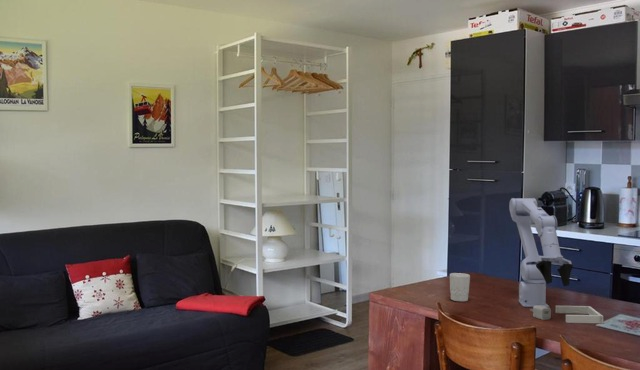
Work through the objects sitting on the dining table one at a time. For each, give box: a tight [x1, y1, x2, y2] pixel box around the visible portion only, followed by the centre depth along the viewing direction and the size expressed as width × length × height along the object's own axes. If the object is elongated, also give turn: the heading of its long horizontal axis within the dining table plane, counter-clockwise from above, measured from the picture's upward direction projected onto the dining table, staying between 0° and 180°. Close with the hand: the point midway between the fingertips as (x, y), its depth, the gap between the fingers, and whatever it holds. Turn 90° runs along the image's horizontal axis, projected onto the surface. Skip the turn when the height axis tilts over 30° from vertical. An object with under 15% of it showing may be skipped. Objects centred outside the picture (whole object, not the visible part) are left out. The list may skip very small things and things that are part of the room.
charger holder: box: [555, 305, 604, 324], centre depth 203 cm, size 12×13×2 cm
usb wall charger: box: [529, 305, 552, 321], centre depth 204 cm, size 4×7×4 cm, turn 23°
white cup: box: [449, 272, 471, 302], centre depth 229 cm, size 8×8×10 cm
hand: (557, 284), depth 199 cm, fingers open, 7 cm apart
